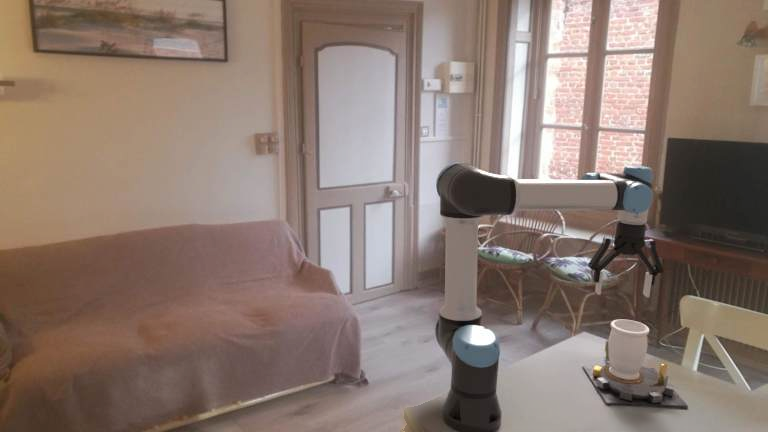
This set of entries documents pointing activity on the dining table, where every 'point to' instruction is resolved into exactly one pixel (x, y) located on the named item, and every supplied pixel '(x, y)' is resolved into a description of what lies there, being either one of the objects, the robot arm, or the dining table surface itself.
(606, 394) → the base plate
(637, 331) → the jar
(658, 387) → the sprocket
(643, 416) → the dining table surface
